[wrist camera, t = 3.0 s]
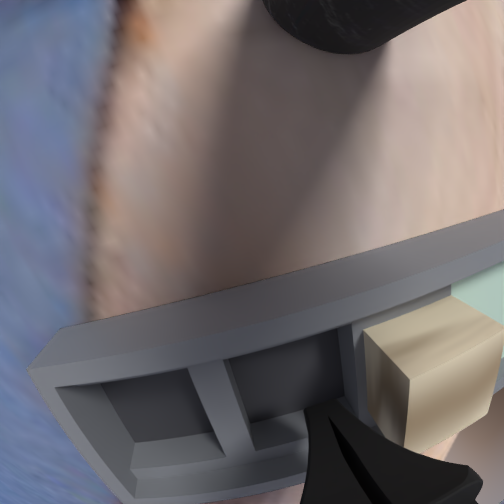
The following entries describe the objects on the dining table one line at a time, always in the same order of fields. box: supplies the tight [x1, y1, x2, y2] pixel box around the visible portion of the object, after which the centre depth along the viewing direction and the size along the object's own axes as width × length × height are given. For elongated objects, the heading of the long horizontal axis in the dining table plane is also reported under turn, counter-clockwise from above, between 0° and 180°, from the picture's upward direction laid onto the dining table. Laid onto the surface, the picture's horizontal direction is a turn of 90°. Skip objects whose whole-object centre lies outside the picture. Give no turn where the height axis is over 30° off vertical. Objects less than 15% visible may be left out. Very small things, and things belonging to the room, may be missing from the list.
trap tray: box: [26, 209, 504, 504], centre depth 14 cm, size 10×27×4 cm, turn 103°
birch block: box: [363, 295, 504, 454], centre depth 12 cm, size 5×5×4 cm
